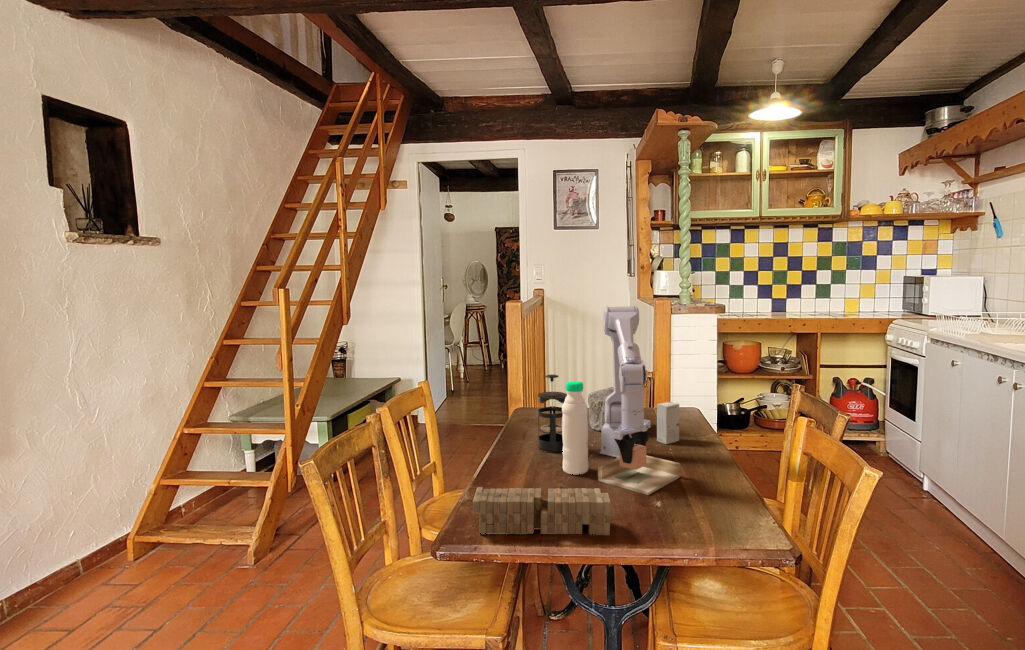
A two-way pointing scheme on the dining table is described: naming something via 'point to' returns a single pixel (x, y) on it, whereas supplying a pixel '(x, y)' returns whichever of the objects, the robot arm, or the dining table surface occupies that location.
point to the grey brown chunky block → (598, 407)
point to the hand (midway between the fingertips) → (632, 459)
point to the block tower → (542, 510)
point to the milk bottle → (575, 430)
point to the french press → (551, 421)
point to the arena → (640, 475)
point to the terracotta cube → (636, 458)
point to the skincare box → (667, 422)
